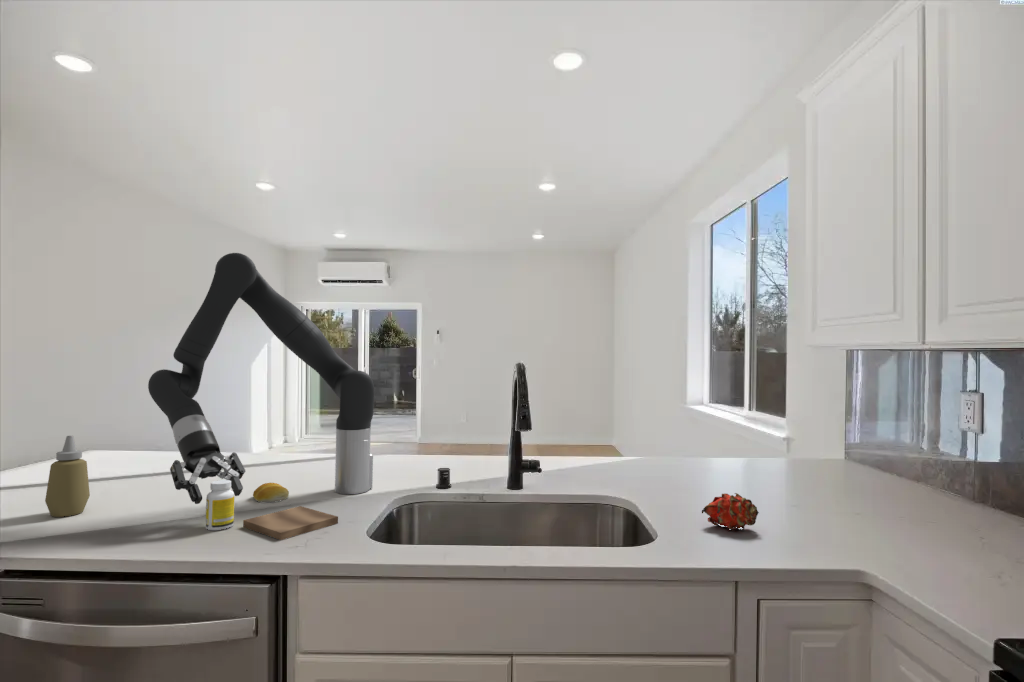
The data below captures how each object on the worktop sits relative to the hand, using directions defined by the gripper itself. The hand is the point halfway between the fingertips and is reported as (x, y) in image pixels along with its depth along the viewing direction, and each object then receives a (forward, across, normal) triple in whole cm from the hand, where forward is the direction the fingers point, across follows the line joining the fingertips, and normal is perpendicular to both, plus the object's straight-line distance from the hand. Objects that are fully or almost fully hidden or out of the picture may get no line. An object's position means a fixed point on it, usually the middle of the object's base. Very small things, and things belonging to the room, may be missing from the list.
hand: (219, 497), depth 120 cm
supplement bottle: (+5, 0, +4) cm, 7 cm away
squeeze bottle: (-21, -16, +31) cm, 41 cm away
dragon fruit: (+68, +67, -59) cm, 113 cm away
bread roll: (-4, +20, +14) cm, 25 cm away
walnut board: (+12, +10, -3) cm, 16 cm away
